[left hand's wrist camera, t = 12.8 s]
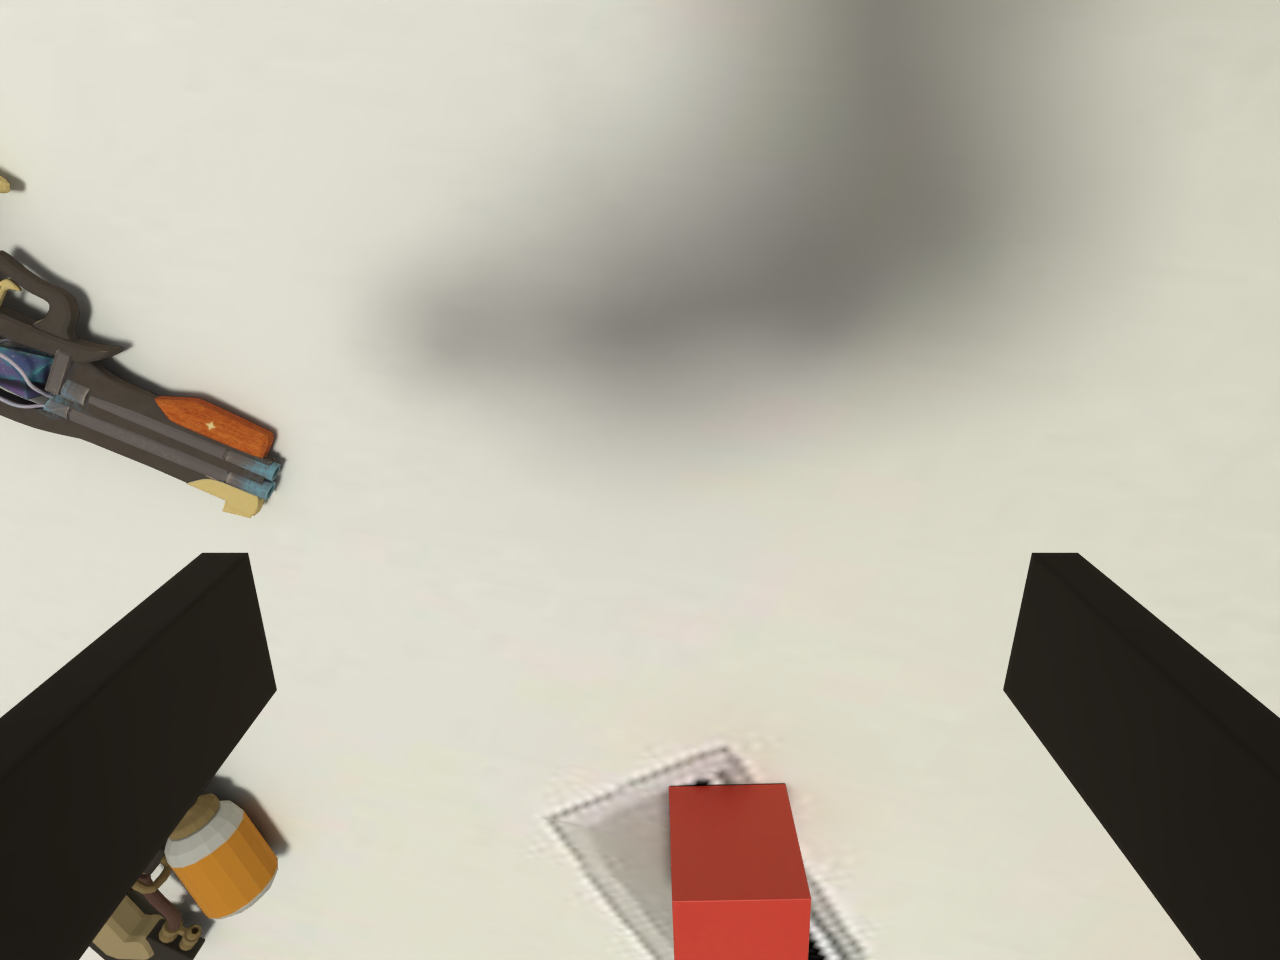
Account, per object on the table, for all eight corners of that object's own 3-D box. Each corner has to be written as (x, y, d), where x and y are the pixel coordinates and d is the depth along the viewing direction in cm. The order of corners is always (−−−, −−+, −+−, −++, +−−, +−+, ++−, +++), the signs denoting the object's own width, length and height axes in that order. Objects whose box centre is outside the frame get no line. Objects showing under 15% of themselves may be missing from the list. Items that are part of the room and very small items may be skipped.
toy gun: (-165, 109, 28) (-219, 347, 30) (326, 337, 32) (247, 531, 34) (-104, 121, 31) (-158, 339, 33) (343, 330, 35) (269, 512, 37)
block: (672, 878, 45) (676, 1002, 38) (668, 786, 43) (672, 901, 36) (782, 876, 45) (805, 1001, 38) (785, 783, 42) (811, 899, 36)
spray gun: (177, 956, 49) (-17, 816, 46) (336, 848, 44) (131, 681, 41) (131, 1023, 45) (-85, 876, 42) (299, 913, 40) (69, 734, 37)
